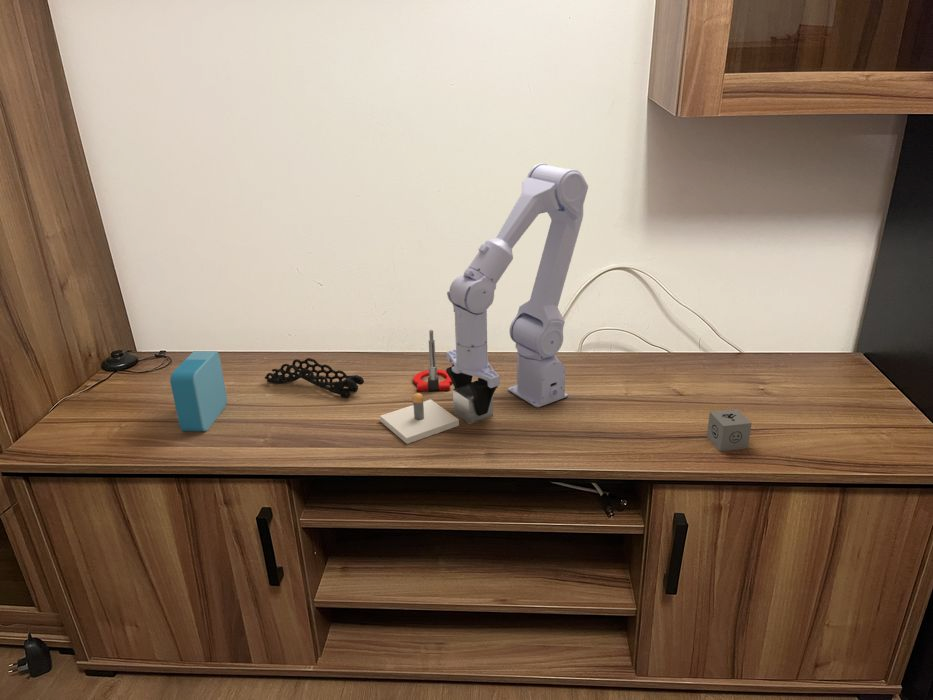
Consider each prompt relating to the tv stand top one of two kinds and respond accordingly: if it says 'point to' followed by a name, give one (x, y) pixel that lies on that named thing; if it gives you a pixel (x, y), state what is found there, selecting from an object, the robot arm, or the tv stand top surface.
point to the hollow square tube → (468, 405)
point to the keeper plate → (419, 420)
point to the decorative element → (317, 377)
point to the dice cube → (728, 430)
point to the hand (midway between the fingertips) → (473, 407)
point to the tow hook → (432, 373)
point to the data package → (198, 390)
